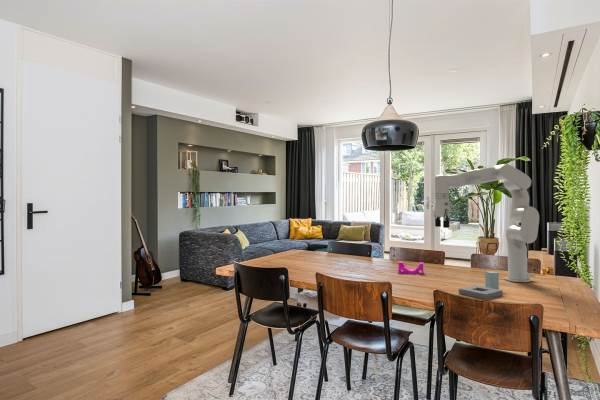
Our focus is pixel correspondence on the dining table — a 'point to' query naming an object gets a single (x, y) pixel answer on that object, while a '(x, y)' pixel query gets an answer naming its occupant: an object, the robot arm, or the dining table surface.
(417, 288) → the dining table surface
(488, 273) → the peg
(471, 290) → the socket
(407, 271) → the toy block
